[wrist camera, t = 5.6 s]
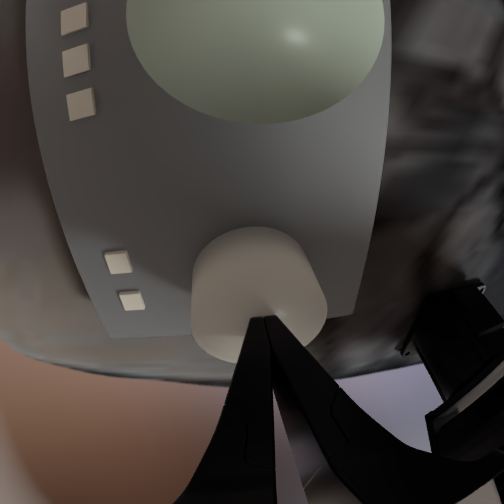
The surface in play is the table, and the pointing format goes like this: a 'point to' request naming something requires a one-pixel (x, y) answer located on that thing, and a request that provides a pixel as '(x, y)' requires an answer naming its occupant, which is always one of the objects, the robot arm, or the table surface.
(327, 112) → the panel
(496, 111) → the table surface
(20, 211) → the table surface
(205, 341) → the offwhite button
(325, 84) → the sage button
